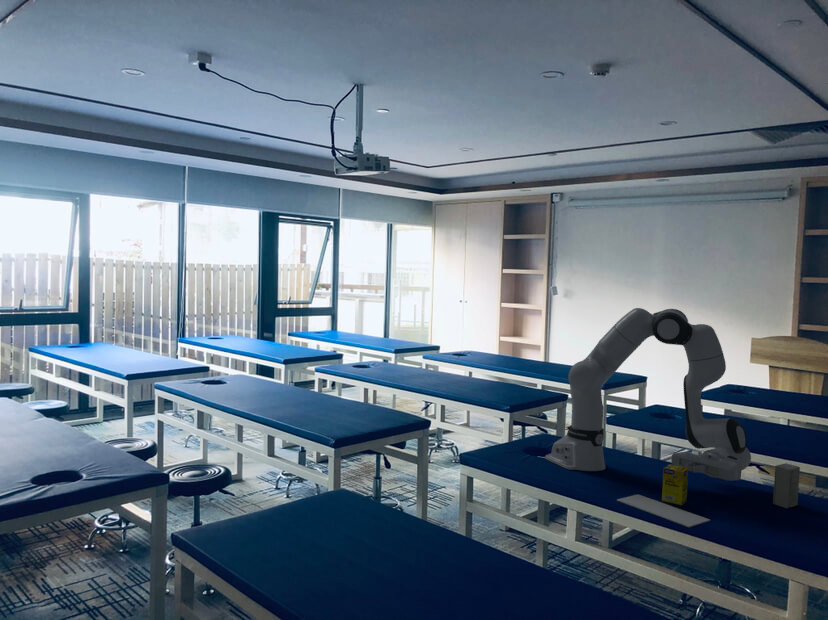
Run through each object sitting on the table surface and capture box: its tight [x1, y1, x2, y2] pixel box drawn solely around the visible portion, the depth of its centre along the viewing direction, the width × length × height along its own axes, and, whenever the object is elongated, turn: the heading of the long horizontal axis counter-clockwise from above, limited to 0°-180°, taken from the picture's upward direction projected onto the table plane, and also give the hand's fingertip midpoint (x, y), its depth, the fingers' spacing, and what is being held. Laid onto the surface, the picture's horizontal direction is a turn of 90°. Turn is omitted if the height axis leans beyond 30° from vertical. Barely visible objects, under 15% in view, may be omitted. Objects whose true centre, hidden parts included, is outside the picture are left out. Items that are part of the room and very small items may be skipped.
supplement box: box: [661, 463, 689, 508], centre depth 189 cm, size 6×6×11 cm
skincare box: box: [772, 463, 801, 509], centre depth 191 cm, size 6×4×12 cm
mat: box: [616, 493, 711, 528], centre depth 183 cm, size 24×10×1 cm, turn 34°
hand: (690, 468), depth 193 cm, fingers closed
